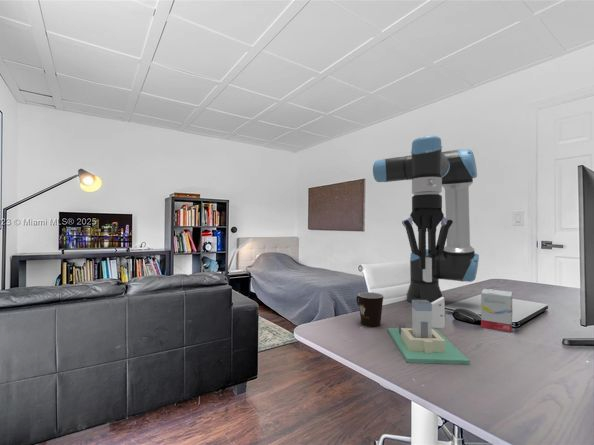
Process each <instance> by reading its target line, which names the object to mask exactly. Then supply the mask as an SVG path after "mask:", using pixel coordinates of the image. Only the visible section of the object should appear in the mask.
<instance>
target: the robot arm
mask: <svg viewBox="0 0 594 445" xmlns="http://www.w3.org/2000/svg"><path fill="white" fill-rule="evenodd" d="M442 149H443V146H442V138H441V137H439V136H437V135H425V136H420V137H417V138H414V139H413V140H412V142H411V151H410V154H411V155H405V156H398V157H389V158H382V159H377V160H375V161H374V163H373V165H372V174H373V175H372V176H373V179H374V180H375V181H376V182H377V183H388V182H389V183H390V182H399V181H410V180H411V194H412V195H413V196H412V197H411V213H410V214H409V217H408V218H406V219H404V220H402V221H401V223H402V225H403V227H404V229H405V231H406V235H407V238H408V243H409V246H410V251H411V252H410V257H409V258H410V259H409V265H410V268H409V270H410V275H409V277H410V284H409V286H408V290H407V293H406V300H407V302H409V303H412V300H427V301H429V302H430V303H431V302H434V301H435V300H437V299H439V298H441V297H444V296H443V294H442V290H441V287H440V284H439V281H440V280H447V281H457V282H466V283H467V282H470V283H471V282H474V281H475V280H476V278H477V272H478V269H479V268H478V267H479V260H480V255H479V254H478V253H475V248H473V246H471V234H470V233H471V231H470V229H471V227H470V226H471V225H470V198H469V197H470V196H469V193H470V191H469V187H470V186H471V185H472V184H473V181H474V179H476V178H477V177H478V172H477V171H478V170H477V163H476V158H475V155H474V152H473V150H472V149H469V148H464V149H463V148H462V149H454V150H446V151H442ZM443 189H444V199H445V200H444V201H445V204H444V205H445V214H444V213H443V196H442V195H441V193H442V192H443ZM444 215H445V216H444ZM413 223H414V224H415V226H416V228H417V232H418V234H417V235H418V236H417V238H418V241H417V238H416V236H415V231H414V228H413ZM439 225H441V226H440V229H439V234H438V238H437V236H436V235H437V227H438V226H439ZM436 238H437V239H436ZM417 242H418V243H417Z"/></svg>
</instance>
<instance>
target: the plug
mask: <svg viewBox="0 0 594 445" xmlns="http://www.w3.org/2000/svg"><path fill="white" fill-rule="evenodd" d="M411 310H412V311H411V321H412V322H411V324H412V325H411V328H412V336H413V337H414V338H432V329H433V328H432V304H431V303H430V302H429V301H427V300H412V302H411Z"/></svg>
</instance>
